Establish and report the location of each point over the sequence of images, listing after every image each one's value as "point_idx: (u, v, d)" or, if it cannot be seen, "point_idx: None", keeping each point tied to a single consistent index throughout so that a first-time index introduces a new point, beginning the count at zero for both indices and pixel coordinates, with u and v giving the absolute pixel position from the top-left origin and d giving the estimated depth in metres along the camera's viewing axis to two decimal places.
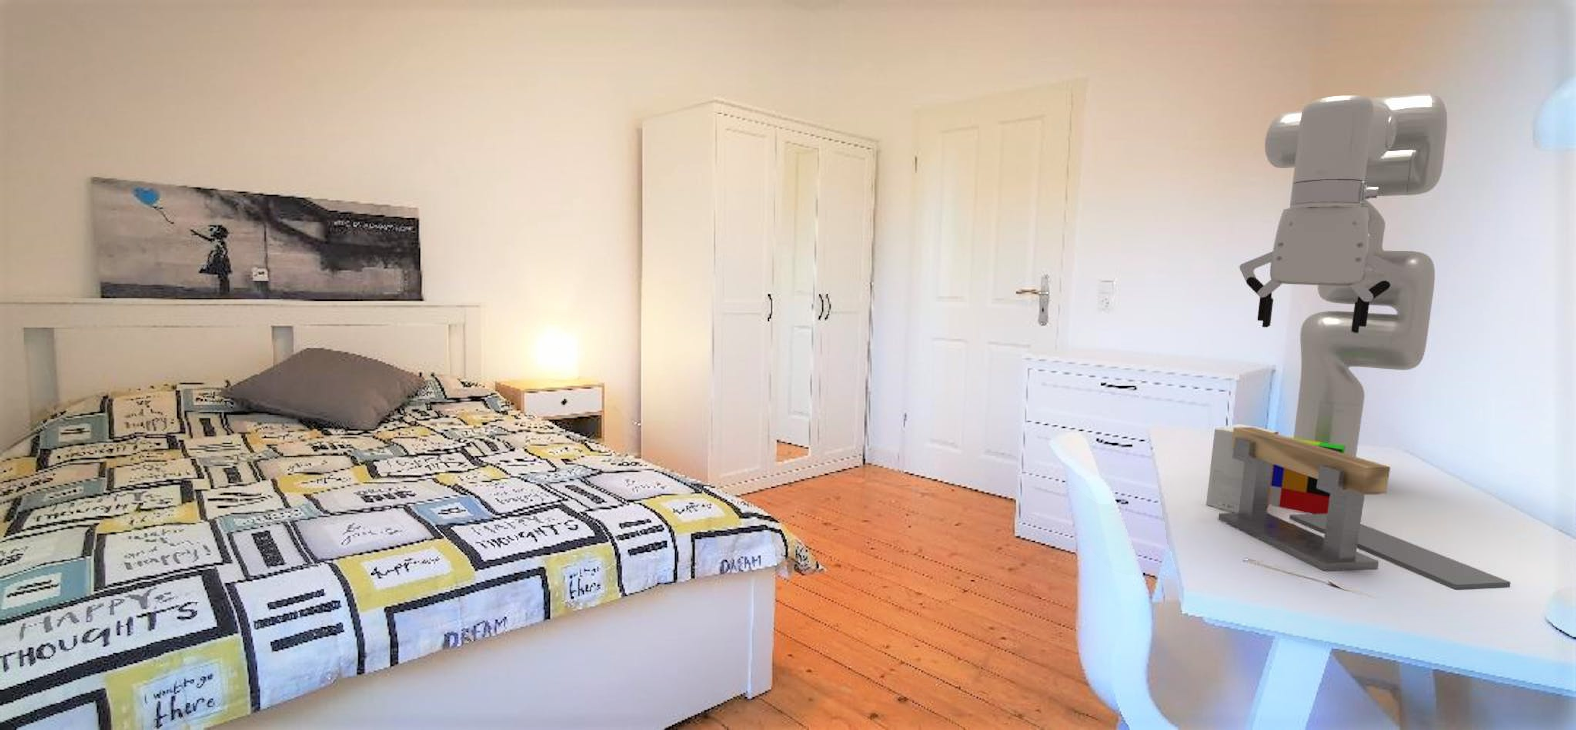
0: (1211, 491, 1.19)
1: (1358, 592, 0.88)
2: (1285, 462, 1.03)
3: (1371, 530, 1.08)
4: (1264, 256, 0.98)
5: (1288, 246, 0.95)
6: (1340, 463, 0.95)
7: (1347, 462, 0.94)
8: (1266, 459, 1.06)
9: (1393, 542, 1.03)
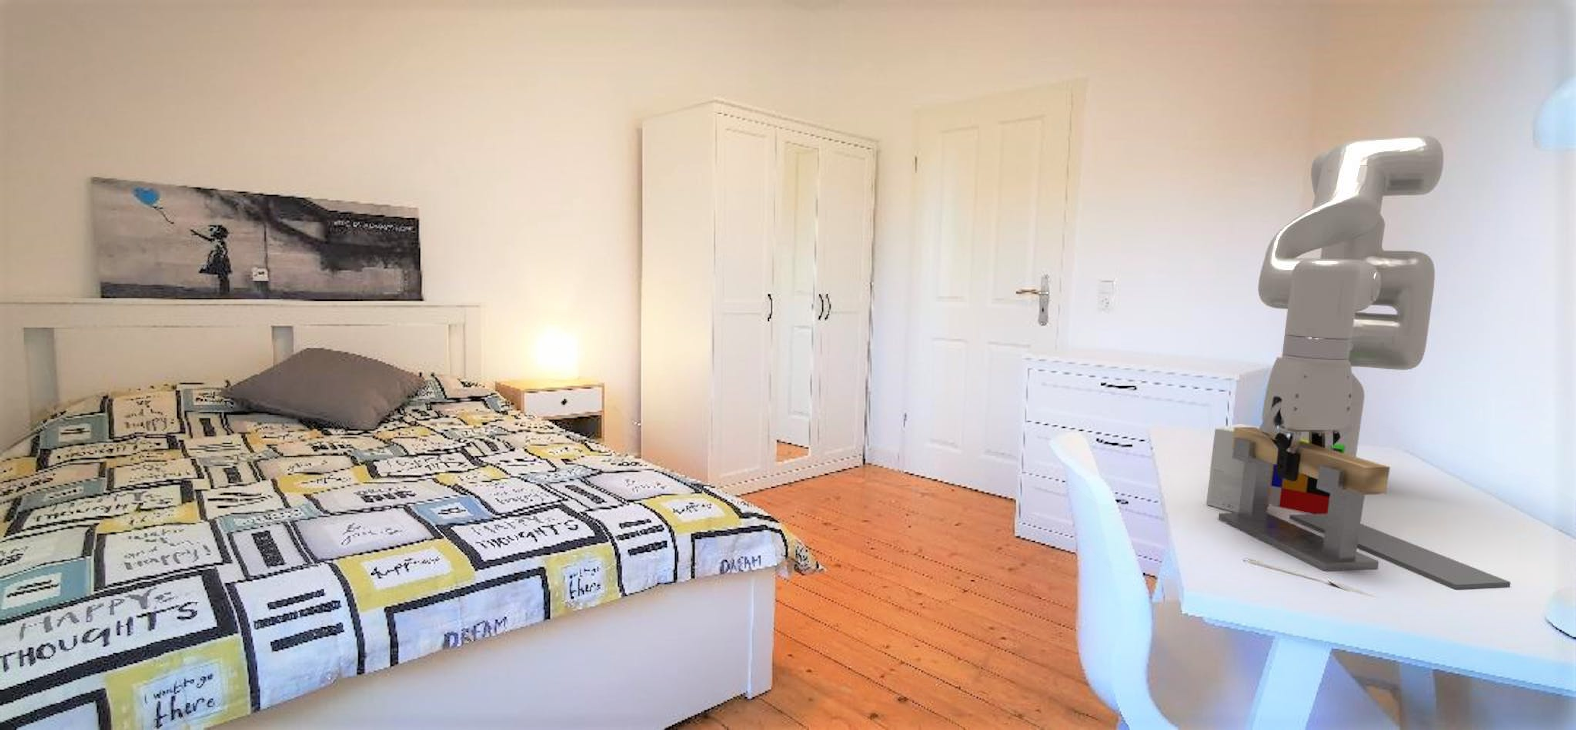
0: (1211, 491, 1.19)
1: (1358, 592, 0.88)
2: None
3: (1371, 530, 1.08)
4: (1278, 413, 1.00)
5: (1302, 397, 0.98)
6: (1339, 462, 0.95)
7: (1347, 462, 0.94)
8: (1266, 459, 1.06)
9: (1393, 542, 1.03)
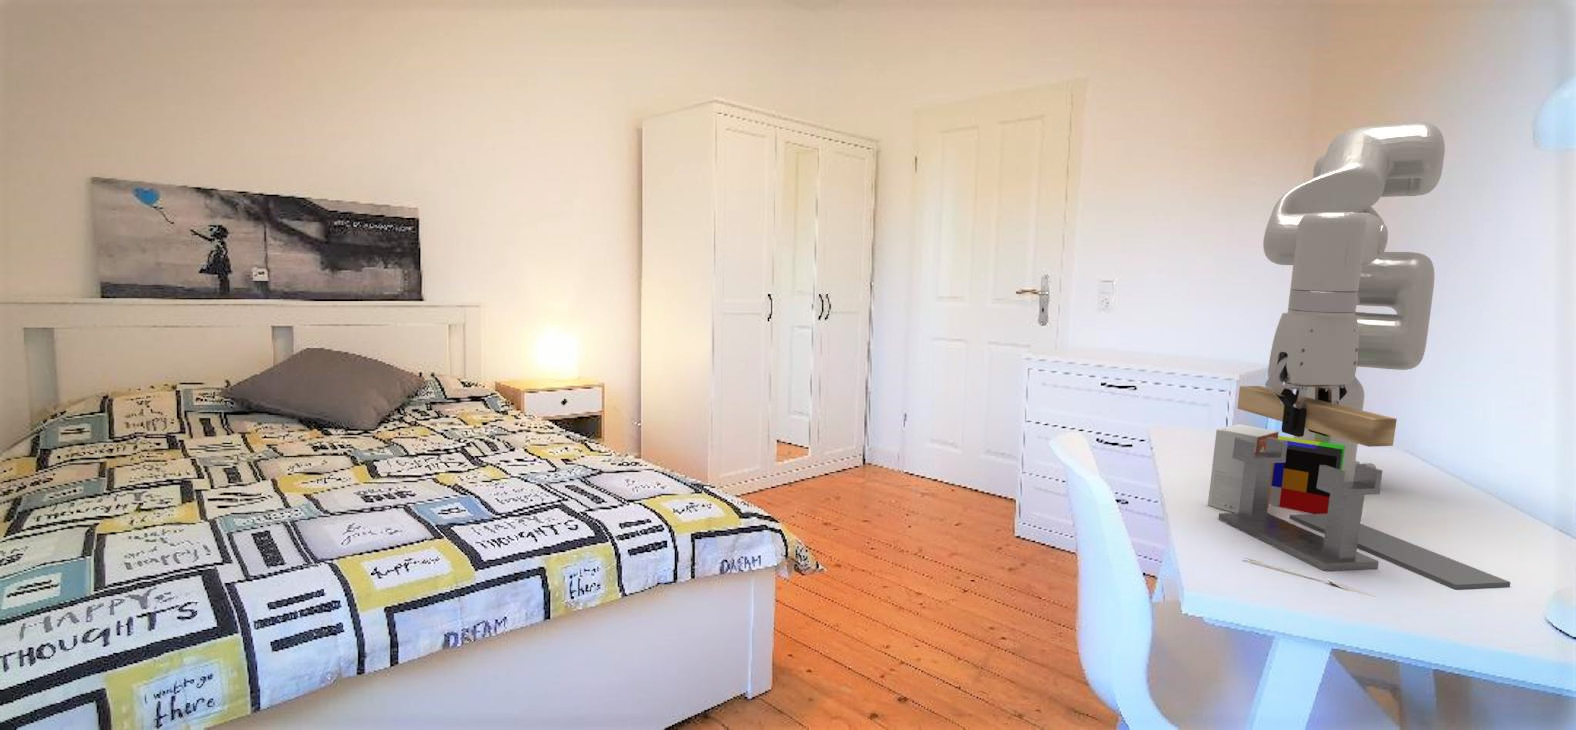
0: (1213, 492, 1.19)
1: (1358, 591, 0.88)
2: None
3: (1371, 530, 1.08)
4: (1284, 368, 1.00)
5: (1309, 352, 0.98)
6: (1346, 416, 0.94)
7: (1353, 415, 0.93)
8: (1272, 416, 1.06)
9: (1393, 542, 1.03)
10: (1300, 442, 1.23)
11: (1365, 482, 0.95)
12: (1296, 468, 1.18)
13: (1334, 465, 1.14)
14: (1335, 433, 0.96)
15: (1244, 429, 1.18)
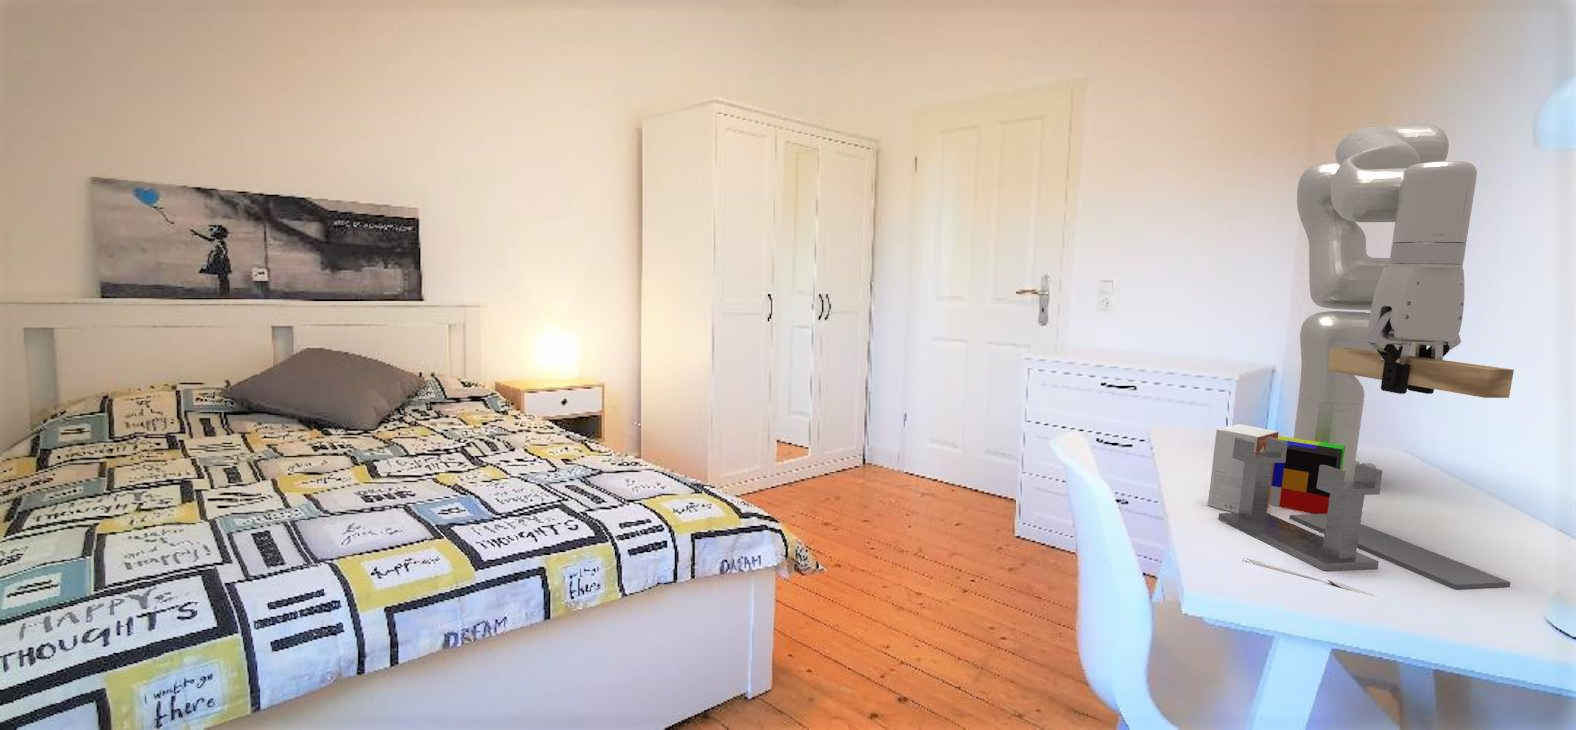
0: (1213, 492, 1.19)
1: (1358, 591, 0.88)
2: None
3: (1371, 530, 1.08)
4: (1388, 322, 0.97)
5: (1415, 305, 0.95)
6: (1457, 368, 0.92)
7: (1466, 367, 0.91)
8: (1369, 375, 1.03)
9: (1393, 542, 1.03)
10: (1300, 442, 1.23)
11: (1365, 482, 0.95)
12: (1296, 468, 1.18)
13: (1334, 465, 1.14)
14: (1445, 387, 0.93)
15: (1244, 429, 1.18)
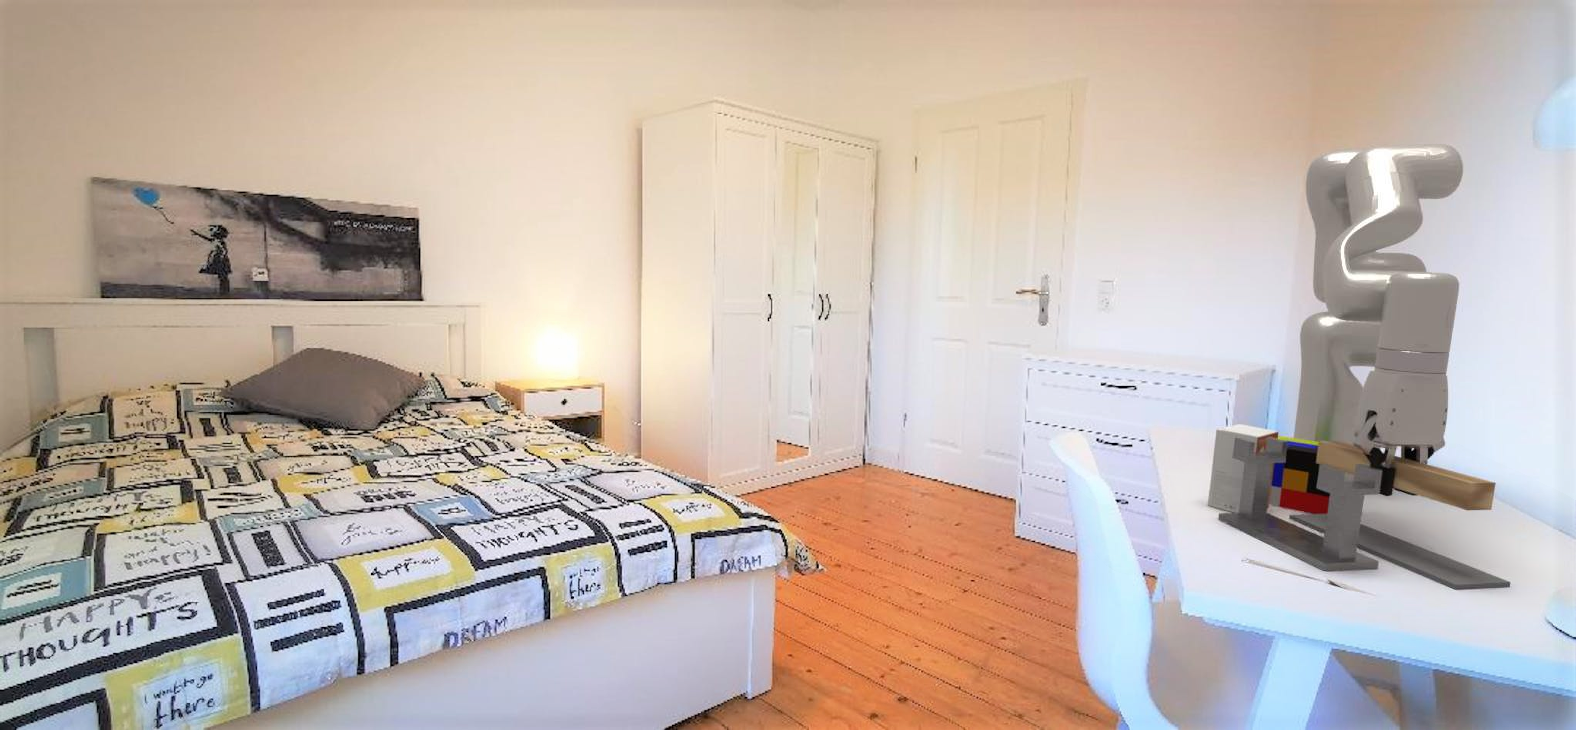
0: (1213, 492, 1.19)
1: (1358, 590, 0.89)
2: None
3: (1371, 530, 1.08)
4: (1373, 427, 0.99)
5: (1399, 412, 0.97)
6: (1441, 478, 0.93)
7: (1449, 477, 0.92)
8: None
9: (1393, 542, 1.03)
10: (1300, 442, 1.23)
11: (1365, 482, 0.95)
12: (1296, 468, 1.18)
13: None
14: (1429, 494, 0.95)
15: (1244, 429, 1.18)
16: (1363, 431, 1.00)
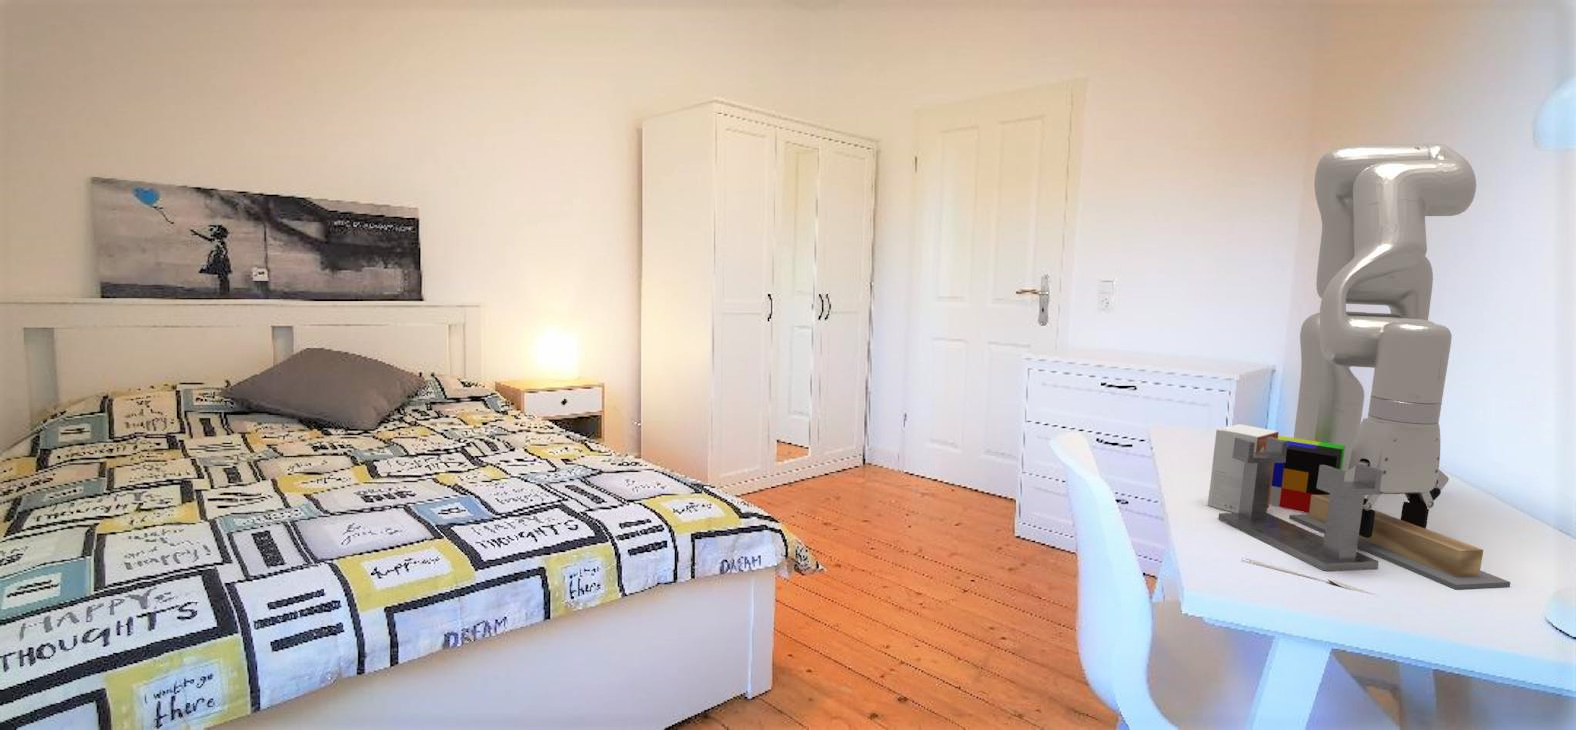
0: (1213, 492, 1.19)
1: (1358, 590, 0.89)
2: None
3: None
4: None
5: (1392, 461, 0.98)
6: (1430, 543, 0.95)
7: (1438, 543, 0.94)
8: None
9: None
10: (1300, 442, 1.23)
11: (1365, 482, 0.95)
12: (1296, 468, 1.18)
13: (1334, 465, 1.14)
14: (1418, 558, 0.97)
15: (1244, 429, 1.18)
16: (1351, 471, 1.01)
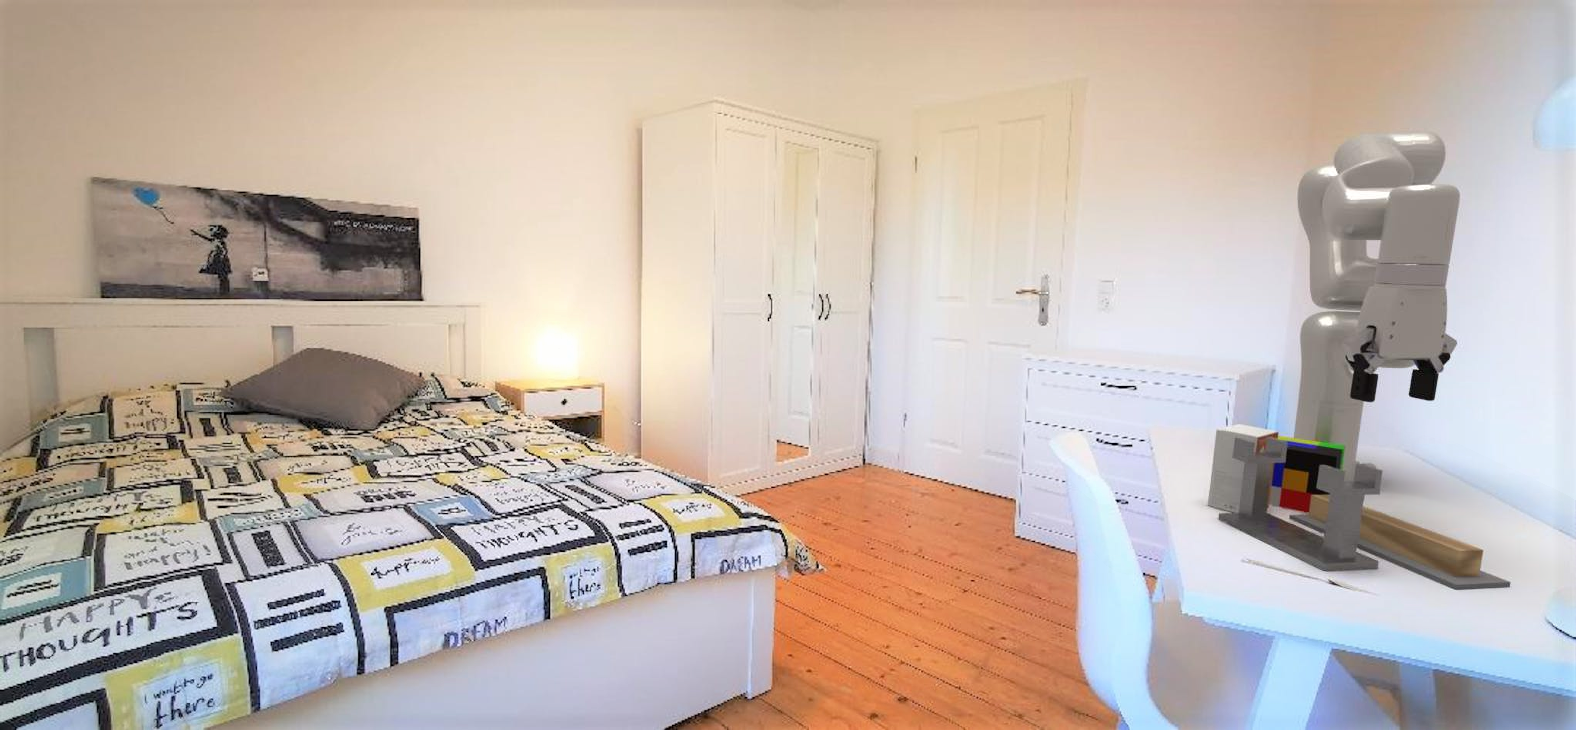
0: (1213, 492, 1.19)
1: (1358, 589, 0.89)
2: (1369, 535, 1.03)
3: None
4: (1369, 333, 0.99)
5: (1399, 325, 0.98)
6: (1430, 543, 0.95)
7: (1438, 543, 0.94)
8: None
9: None
10: (1300, 442, 1.23)
11: (1365, 482, 0.95)
12: (1297, 468, 1.18)
13: (1334, 465, 1.14)
14: (1418, 558, 0.97)
15: (1244, 429, 1.18)
16: (1357, 334, 1.00)
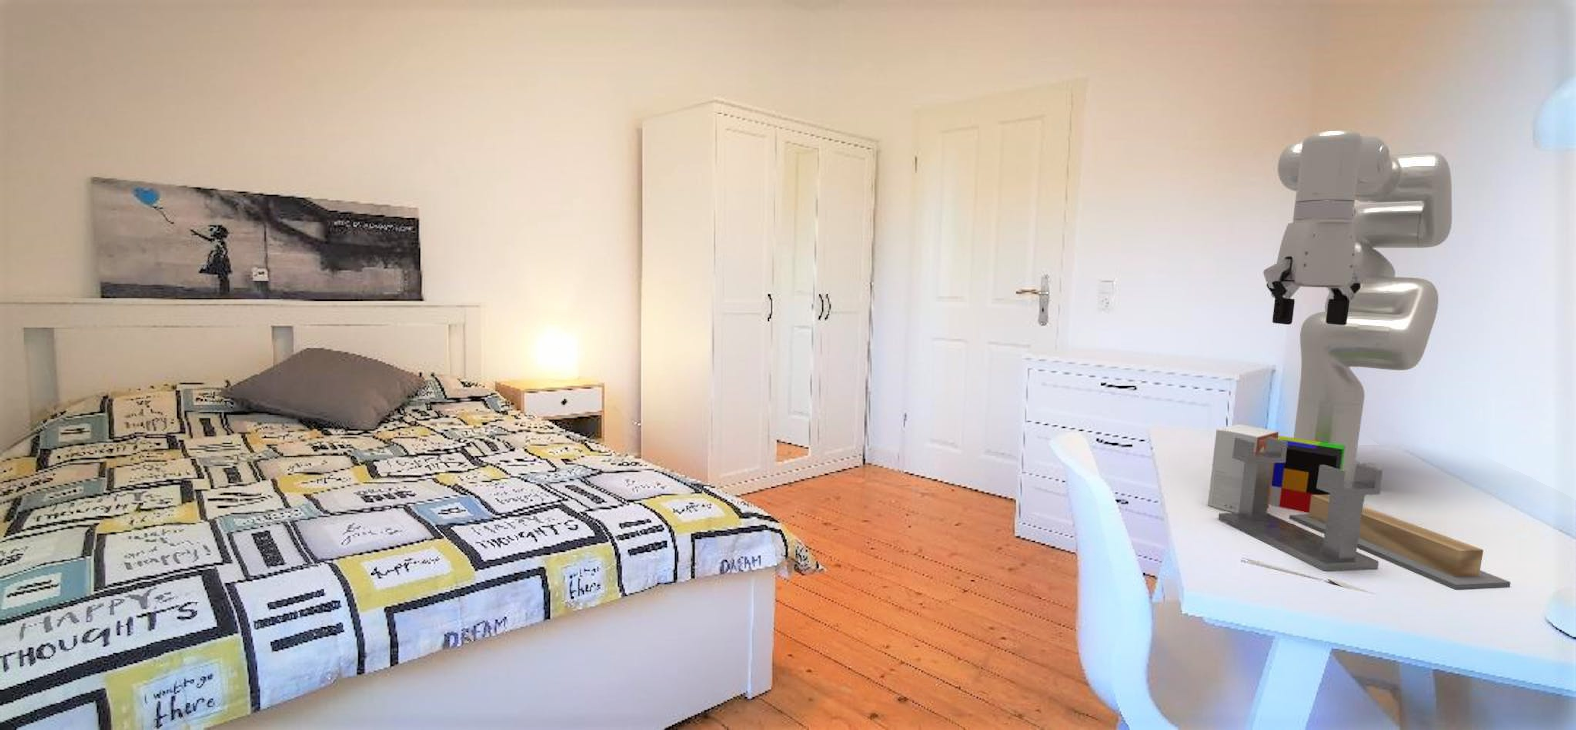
0: (1213, 492, 1.19)
1: (1358, 589, 0.89)
2: (1369, 535, 1.03)
3: None
4: (1286, 263, 1.13)
5: (1311, 254, 1.11)
6: (1430, 543, 0.95)
7: (1438, 543, 0.94)
8: None
9: None
10: (1300, 442, 1.23)
11: (1365, 482, 0.95)
12: (1296, 468, 1.18)
13: (1334, 465, 1.14)
14: (1418, 558, 0.97)
15: (1244, 429, 1.18)
16: (1276, 264, 1.13)
